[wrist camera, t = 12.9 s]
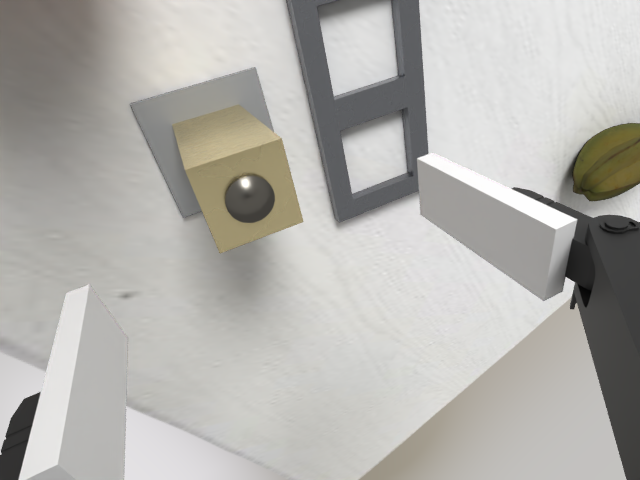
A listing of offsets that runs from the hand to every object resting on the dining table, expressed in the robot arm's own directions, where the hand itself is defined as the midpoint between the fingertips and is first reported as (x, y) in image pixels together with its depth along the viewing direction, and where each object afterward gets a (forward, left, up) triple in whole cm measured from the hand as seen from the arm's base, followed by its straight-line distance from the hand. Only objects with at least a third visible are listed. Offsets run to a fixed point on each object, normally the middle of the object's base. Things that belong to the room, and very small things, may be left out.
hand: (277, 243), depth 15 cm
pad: (0, 0, -18) cm, 18 cm away
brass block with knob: (0, 0, -17) cm, 17 cm away
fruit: (+43, -16, -18) cm, 49 cm away
